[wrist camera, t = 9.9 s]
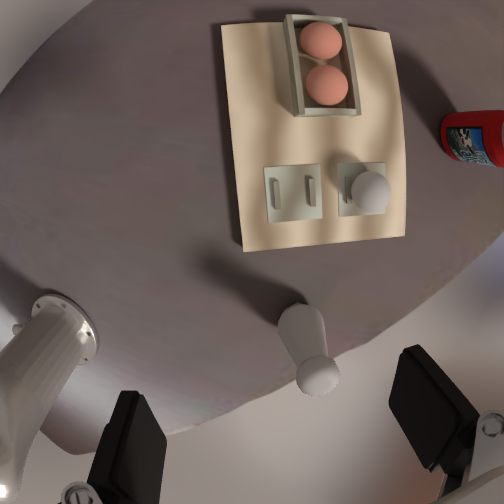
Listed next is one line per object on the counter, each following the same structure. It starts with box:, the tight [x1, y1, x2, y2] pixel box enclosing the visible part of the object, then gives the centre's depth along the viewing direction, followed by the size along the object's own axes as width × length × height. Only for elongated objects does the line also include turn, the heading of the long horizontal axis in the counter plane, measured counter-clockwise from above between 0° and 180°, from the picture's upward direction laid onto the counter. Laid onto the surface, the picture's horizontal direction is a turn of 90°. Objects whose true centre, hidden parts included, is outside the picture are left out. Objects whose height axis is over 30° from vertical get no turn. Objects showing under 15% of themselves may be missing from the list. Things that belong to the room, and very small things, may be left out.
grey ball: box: [351, 171, 391, 213], centre depth 28 cm, size 4×4×4 cm
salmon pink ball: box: [305, 65, 348, 105], centre depth 25 cm, size 4×4×4 cm
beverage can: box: [441, 110, 504, 168], centre depth 24 cm, size 7×7×12 cm
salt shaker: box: [278, 302, 340, 396], centre depth 31 cm, size 6×6×13 cm
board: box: [221, 14, 406, 252], centre depth 28 cm, size 20×26×4 cm
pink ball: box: [300, 22, 342, 60], centre depth 23 cm, size 4×4×4 cm
